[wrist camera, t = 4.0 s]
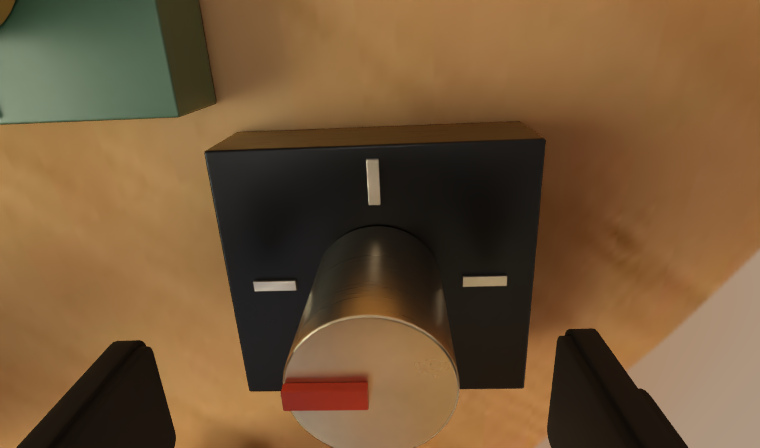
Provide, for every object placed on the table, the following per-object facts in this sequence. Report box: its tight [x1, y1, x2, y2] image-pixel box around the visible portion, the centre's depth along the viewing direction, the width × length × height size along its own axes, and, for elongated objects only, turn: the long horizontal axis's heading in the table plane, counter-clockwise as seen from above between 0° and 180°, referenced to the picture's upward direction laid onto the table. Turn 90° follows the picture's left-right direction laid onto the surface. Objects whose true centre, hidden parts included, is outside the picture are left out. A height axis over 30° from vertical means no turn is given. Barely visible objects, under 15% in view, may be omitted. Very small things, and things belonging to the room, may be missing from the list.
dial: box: [281, 226, 460, 448], centre depth 13 cm, size 4×4×5 cm
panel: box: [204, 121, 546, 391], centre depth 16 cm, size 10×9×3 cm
